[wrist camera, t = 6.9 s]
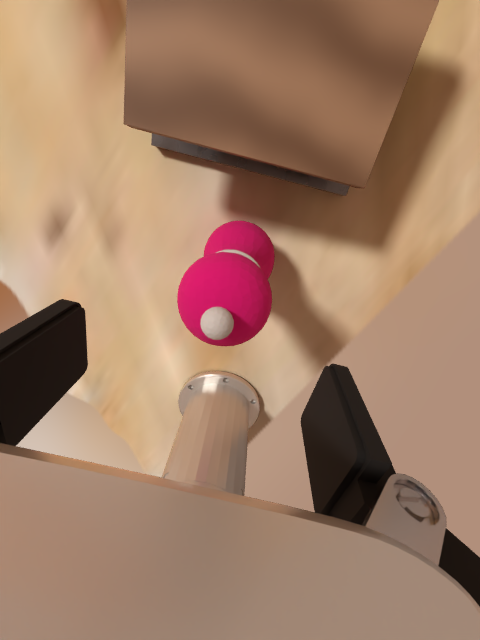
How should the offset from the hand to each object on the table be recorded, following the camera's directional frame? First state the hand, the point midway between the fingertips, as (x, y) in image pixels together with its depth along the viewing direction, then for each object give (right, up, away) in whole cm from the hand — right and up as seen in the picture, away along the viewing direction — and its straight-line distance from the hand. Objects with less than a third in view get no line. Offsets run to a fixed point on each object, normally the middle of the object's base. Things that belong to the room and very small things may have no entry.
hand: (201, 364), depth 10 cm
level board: (+4, +21, +7) cm, 23 cm away
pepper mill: (+2, +10, +21) cm, 24 cm away
